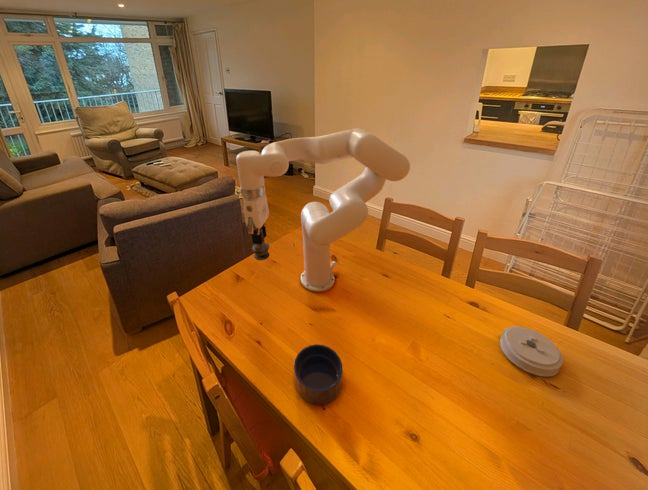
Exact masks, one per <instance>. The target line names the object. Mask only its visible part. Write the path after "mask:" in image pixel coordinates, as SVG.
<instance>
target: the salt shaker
mask: <svg viewBox="0 0 648 490" xmlns="http://www.w3.org/2000/svg"><path fill="white" fill-rule="evenodd" d="M254 230H257V228H254ZM260 233H261V237H262V244H253V245H252V246H251V247H252V248H251V250H252V251H253V253H254V255H253V257H254V259H255V260H257V261H265V260H267V259H268V258H270V252H269V248H270V244H269V243H268V242H266V241H265V238H266V237H265V236H264V235H263V229H262V228H260Z"/></svg>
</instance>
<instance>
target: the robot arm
mask: <svg viewBox="0 0 648 490" xmlns="http://www.w3.org/2000/svg"><path fill="white" fill-rule="evenodd" d="M351 158H354V159H355V160H356V161H357V162H359V163H360V165H363V166H364V167H365V168H364V170H363V171H362V173H361V174H359V175H358V176H356V177H355V178H354V179H352V180H351V181H349V182H347V183H346V184H344V185H342V186H341V187H339V188H337V189H336V190H334V191H333V192H332V193H331V194H330V196H329V200H328V201H329V205H330V207H331V209H332V211H331V212H330V210H329V209H328V208H327V206H326V205H325V204H323V203H322V202H319V201H310V202H308V203H307V204H305V205H304V206H303V208H302V209H301V213H300V224H301V232H302V246H303V248H302V251H303V270H304V271H302V273H301V274H300V284H301V285H302V286H303V287H304V288H305V289H306V290H308V291H311V292H317V293H319V292H325V291H328V290H329V289H331V288H333V286H334V284H335V275H334V273H333V272H332V270H333V268H335V267H336V266H337V265H338V263H337V261H335V260H333V261H332V262H331V244H333V243H335V242H337V241H338V240H340V239H342V238H343V237H345V236H347V235H348V234H351V233H352V232H353V231H356V230H357V229H358V228H359V227H361V226H362V225H363V224H364V223H365V222H366V220H367V219H368V216H369V209H368V208H369V207H368V206H367V204H366V203H367V202H369V201H370V200H372V199H373V198H374V197H376V196H377V195H378V194H380V192H381V191H382V190H383V188H384V186H385V184H386V181H390V182H399V181H401V180H403V179H405V178H406V176H408V174H409V172H410V169H411V163H410V160H409V159H408V157H407V156H406V155H404V154H402V153H401V152H399V151H398V150H396V149H395V148H393V147H392V146H390V145H389V144H388V143H386V142H384V141H382V140H381V139H380V138H379V137H377V136H376V135H375V134H373V133H371V132H370V131H368V130H366V129H363V128H357V127H356V128H350V129H346V130H341V131H337V132H332V133H329V134H324V135H318V136H310V137H309V136H307V137H294V138H288V139H283V140H279V141H274V142H271V143H269V144H267V145H265V146H264V147H263V149H262V150H261V152H259V151H258V150H243V151H241V152H239V153H238V154H236V158H235V161H236V169H237V175H238V181H239V186H240V187H239V188H240V195H241V198H242V200H243V214H244V222H245V226H246V228H247V233H248V234H250V235H251V241H252V244H253V245H254V244H262V237H261V233H260V228H262V229H263V235H264V236H265V238H267V229H266V228H267V227H266V221H267V220H268V218H269V216H270V210H269V209H270V208H269V204H268V203H269V202H268V198H267V193H266V185H265V177H272V178H273V177H274V178H275V177H280V176H284V175H285V174H286V173H287V172H288V170H289V166H290V163H289V162H293V161H294V162H295V161H307V162H310V163H314V164H319V165H325V164H330V163H333V162H339V161H343V160H347V159H351ZM256 228H257V230H255V229H256Z"/></svg>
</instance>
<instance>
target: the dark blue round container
mask: <svg viewBox="0 0 648 490" xmlns="http://www.w3.org/2000/svg"><path fill="white" fill-rule="evenodd" d="M343 368H344V367H343V363H342V359H341V357H340V356H339V354H338V353H337V352H336V351H335V350H334V349H333V348H331V347H329V346H327V345H324V344H310V345H307V346H305V347H304V348H302V349H301V350H300V351H298V353H297V355H296V357H295V359H294V363H293V371H294V383H295V389H296V391H297V392H298V394H299V396H300V397H301V398H302V399H303V400H305V401H306V402H308V403H310V404H312V405H314V406H315V405H318V406H325V405H329V404H330V403H332V402H333V401H335V400H336V399H337V398H338V397H339V395H340V394H341V391H342V388H343V378H344V377H343V375H344V374H343V373H344V372H343V371H344V370H343Z"/></svg>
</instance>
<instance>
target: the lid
mask: <svg viewBox="0 0 648 490" xmlns="http://www.w3.org/2000/svg"><path fill="white" fill-rule="evenodd" d="M499 346H500V349H501V351H502V353H503V354H504V355H505V357H506V358H507V359H508V361H510V362H512V364H514V365H515V366H517V367H518V368H519V369H520V370H523V371H525V372H527V373H529V374H532V375H535V376H540V377H546V378H547V377H553V376H555V375H557V374H558V373H559V372H560V369H561V367H562V365H563V363H564V357H563V354H562V351H560V349H559V347H558V346H557V345H556V344H555V342H553V341H552V340H551V339H549V338H548V337H547V336H545V335H544V334H542V333H540V332H538V331H536V330H534V329H531V328H529V327H524V326H519V325H514V326H513V325H512V326H508V327H506V328H504V329H503V331H502V333H501V336H500V339H499Z"/></svg>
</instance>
